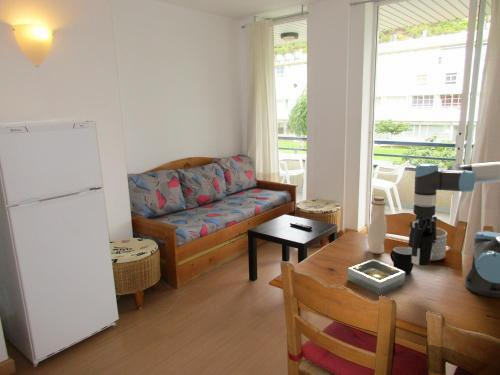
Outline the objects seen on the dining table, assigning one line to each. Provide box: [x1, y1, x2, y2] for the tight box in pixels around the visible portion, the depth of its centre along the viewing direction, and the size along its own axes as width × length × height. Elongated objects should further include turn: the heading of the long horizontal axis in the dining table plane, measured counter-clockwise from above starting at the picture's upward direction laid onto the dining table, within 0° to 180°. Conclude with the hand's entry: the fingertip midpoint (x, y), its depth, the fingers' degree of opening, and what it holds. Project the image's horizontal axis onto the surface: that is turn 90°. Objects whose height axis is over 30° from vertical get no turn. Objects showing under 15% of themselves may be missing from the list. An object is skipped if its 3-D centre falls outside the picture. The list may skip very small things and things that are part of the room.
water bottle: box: [366, 195, 388, 255], centre depth 185 cm, size 10×9×28 cm
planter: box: [407, 227, 448, 262], centre depth 179 cm, size 16×16×13 cm
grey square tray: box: [347, 258, 406, 296], centre depth 153 cm, size 16×16×6 cm
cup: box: [418, 232, 434, 266], centre depth 143 cm, size 8×8×12 cm
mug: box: [389, 246, 414, 276], centre depth 163 cm, size 12×9×10 cm
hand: (421, 260), depth 144 cm, fingers closed on cup, 8 cm apart
